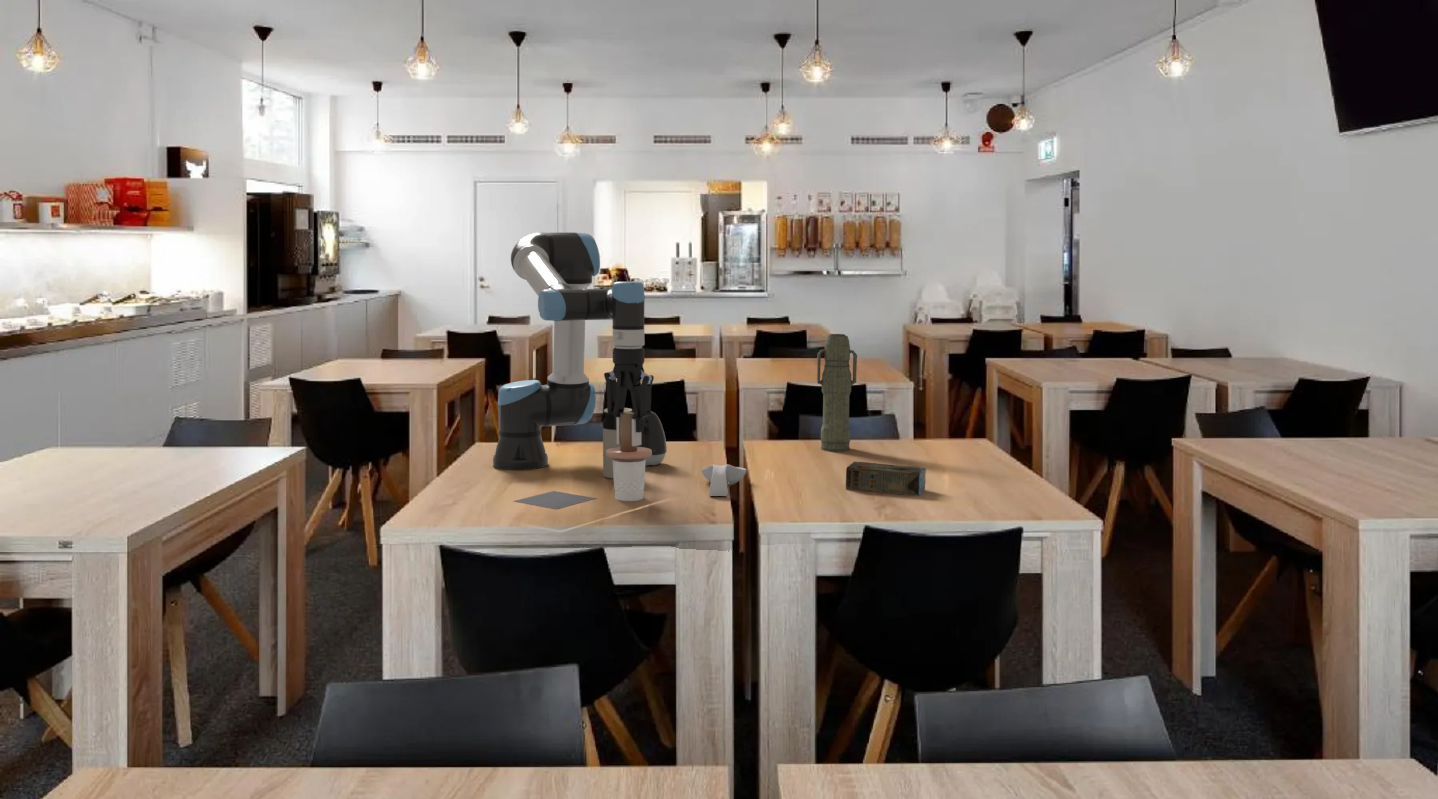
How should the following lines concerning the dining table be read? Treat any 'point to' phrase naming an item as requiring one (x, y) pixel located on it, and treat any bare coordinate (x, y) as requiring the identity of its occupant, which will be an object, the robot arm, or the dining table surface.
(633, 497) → the white cup
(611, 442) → the travel mug
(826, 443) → the thermos
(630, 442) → the lid
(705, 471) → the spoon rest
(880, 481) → the beverage carton
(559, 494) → the mat
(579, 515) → the dining table surface
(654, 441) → the pump dispenser
